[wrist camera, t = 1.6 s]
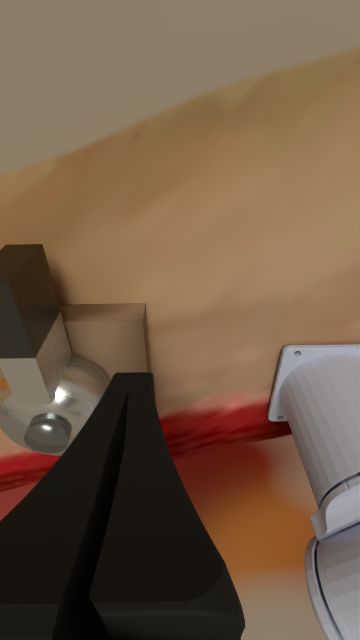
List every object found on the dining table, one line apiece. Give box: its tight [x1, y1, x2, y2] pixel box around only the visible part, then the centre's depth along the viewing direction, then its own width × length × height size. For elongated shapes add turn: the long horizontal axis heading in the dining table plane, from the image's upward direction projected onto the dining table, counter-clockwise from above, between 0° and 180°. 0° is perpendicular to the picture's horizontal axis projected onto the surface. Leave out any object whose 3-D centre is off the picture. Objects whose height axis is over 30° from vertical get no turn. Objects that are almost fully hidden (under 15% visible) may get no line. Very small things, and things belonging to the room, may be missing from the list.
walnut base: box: [0, 304, 151, 408], centre depth 23 cm, size 11×10×2 cm
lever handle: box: [0, 244, 110, 456], centre depth 18 cm, size 13×6×4 cm, turn 1°
